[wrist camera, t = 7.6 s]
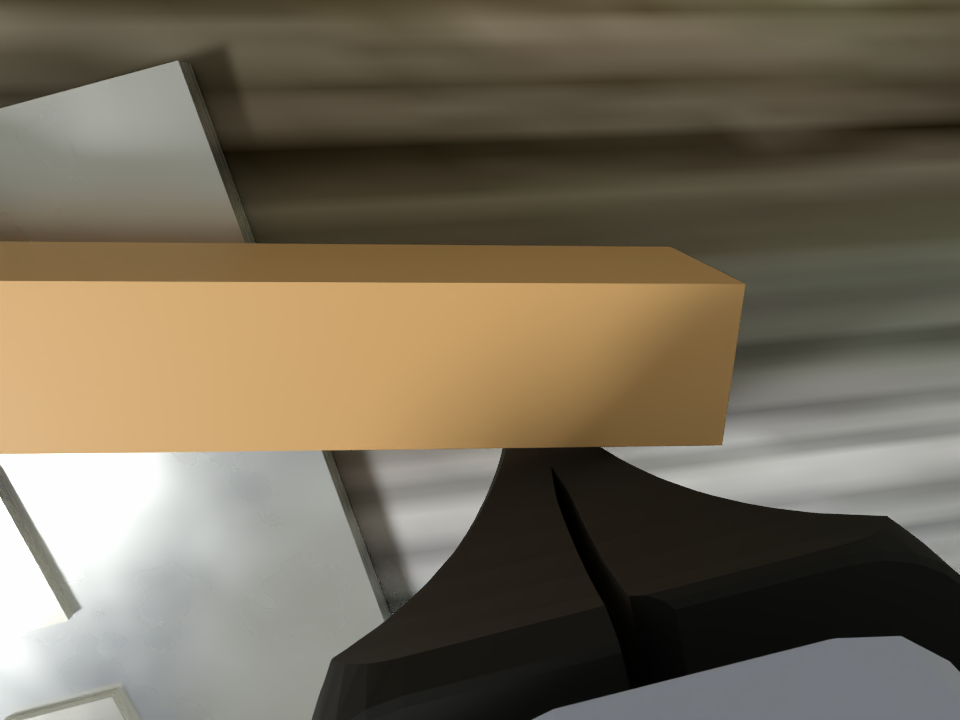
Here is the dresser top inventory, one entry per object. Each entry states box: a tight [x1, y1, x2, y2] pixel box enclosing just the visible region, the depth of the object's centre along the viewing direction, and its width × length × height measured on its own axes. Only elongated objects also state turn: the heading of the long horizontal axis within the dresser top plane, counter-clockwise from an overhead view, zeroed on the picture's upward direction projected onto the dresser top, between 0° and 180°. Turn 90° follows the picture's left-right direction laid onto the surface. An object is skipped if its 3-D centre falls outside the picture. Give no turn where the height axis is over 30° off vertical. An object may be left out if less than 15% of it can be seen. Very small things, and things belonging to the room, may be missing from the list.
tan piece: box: [0, 241, 745, 455], centre depth 10 cm, size 16×3×3 cm, turn 89°
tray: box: [0, 61, 391, 720], centre depth 14 cm, size 18×14×1 cm
